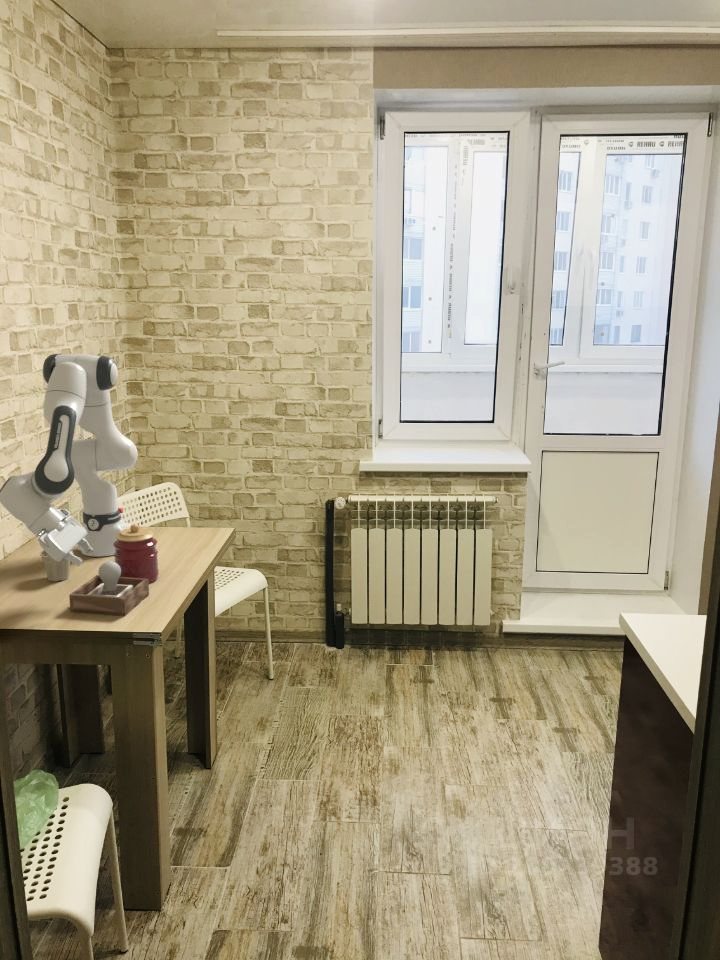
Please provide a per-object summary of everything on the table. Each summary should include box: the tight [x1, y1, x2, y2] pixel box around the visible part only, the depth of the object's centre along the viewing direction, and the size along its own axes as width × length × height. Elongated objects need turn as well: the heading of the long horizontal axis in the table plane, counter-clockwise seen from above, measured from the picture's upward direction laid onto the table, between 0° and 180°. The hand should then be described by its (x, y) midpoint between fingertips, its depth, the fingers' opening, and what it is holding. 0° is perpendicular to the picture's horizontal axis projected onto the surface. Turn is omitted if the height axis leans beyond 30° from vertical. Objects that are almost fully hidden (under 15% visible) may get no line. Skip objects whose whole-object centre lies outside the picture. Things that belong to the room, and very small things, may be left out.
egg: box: [97, 560, 121, 596], centre depth 222 cm, size 6×6×11 cm
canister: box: [113, 523, 160, 584], centre depth 240 cm, size 13×13×18 cm
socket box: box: [68, 574, 150, 617], centre depth 222 cm, size 16×16×5 cm
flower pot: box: [39, 549, 74, 582], centre depth 241 cm, size 9×9×9 cm
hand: (86, 558), depth 220 cm, fingers open, 8 cm apart
